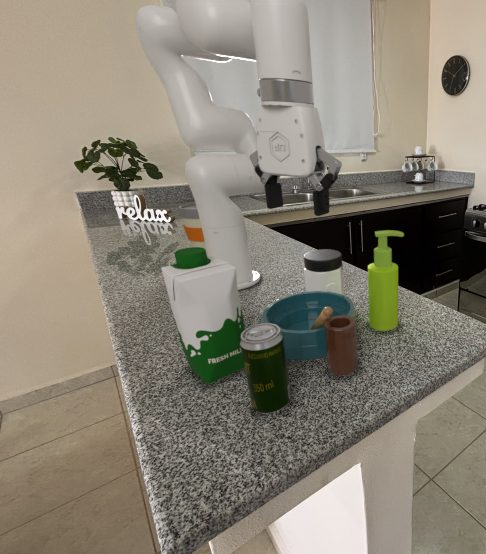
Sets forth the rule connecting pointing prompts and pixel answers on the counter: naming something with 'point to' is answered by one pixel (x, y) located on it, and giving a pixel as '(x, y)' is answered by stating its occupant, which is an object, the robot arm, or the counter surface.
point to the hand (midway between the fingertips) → (298, 210)
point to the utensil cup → (341, 344)
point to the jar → (324, 271)
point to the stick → (322, 318)
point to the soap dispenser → (383, 285)
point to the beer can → (265, 367)
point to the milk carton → (206, 312)
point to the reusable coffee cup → (192, 224)
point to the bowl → (305, 321)
